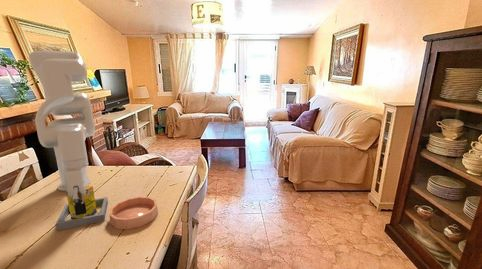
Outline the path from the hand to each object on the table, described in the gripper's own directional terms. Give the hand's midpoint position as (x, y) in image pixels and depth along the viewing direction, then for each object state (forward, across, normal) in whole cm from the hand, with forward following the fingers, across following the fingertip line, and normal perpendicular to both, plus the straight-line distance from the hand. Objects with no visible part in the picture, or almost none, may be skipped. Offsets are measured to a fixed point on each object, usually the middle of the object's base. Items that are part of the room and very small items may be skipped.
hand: (83, 207), depth 90 cm
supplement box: (+3, 0, 0) cm, 3 cm away
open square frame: (+3, 0, 0) cm, 3 cm away
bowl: (+3, +8, +17) cm, 19 cm away
